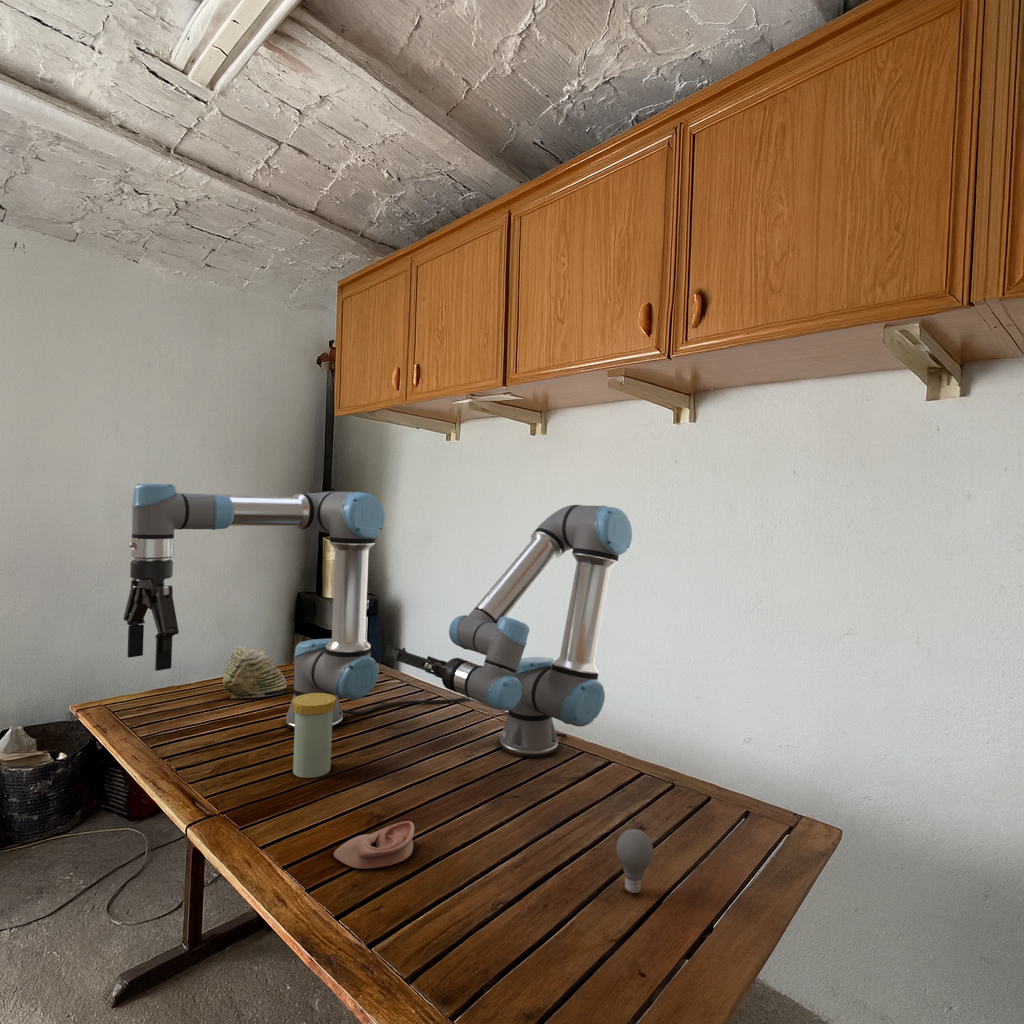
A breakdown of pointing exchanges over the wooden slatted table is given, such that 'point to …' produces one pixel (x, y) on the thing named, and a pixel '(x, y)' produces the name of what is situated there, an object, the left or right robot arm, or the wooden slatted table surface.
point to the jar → (312, 744)
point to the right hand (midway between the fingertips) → (407, 655)
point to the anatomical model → (378, 847)
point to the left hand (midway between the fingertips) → (148, 662)
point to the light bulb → (634, 857)
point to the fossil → (252, 674)
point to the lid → (314, 703)
